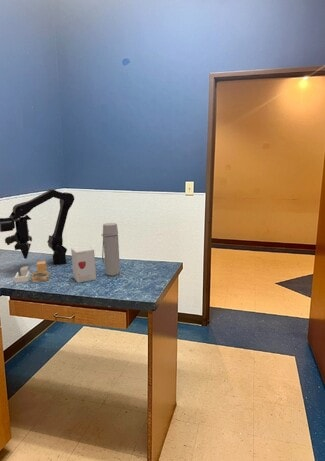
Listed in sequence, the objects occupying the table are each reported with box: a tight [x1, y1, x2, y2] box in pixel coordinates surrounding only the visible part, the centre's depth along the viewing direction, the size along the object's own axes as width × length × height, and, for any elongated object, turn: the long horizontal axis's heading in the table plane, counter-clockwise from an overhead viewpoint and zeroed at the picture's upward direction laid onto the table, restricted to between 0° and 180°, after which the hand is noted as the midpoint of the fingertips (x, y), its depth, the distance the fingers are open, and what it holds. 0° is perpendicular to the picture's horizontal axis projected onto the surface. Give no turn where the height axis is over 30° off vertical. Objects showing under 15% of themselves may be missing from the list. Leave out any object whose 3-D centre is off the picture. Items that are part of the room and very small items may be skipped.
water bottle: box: [101, 222, 121, 276], centre depth 162 cm, size 9×8×25 cm
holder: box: [30, 270, 50, 284], centre depth 160 cm, size 8×8×2 cm
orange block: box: [36, 260, 48, 273], centre depth 169 cm, size 4×4×5 cm
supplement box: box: [70, 245, 97, 284], centre depth 157 cm, size 9×9×15 cm
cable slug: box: [19, 265, 29, 277], centre depth 166 cm, size 3×5×4 cm, turn 15°
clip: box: [13, 270, 31, 284], centre depth 160 cm, size 6×8×2 cm
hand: (25, 258), depth 173 cm, fingers closed
